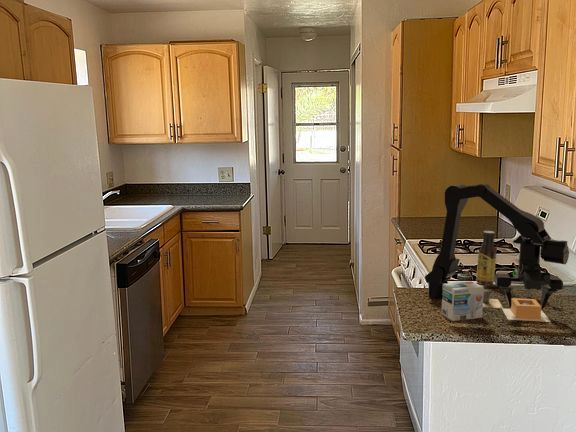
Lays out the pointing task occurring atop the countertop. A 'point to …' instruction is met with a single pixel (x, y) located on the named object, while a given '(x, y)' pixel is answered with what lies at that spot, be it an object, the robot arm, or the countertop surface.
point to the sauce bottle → (486, 259)
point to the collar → (525, 308)
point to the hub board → (512, 317)
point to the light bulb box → (462, 300)
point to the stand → (490, 301)
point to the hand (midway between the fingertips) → (525, 308)
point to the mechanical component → (526, 289)
